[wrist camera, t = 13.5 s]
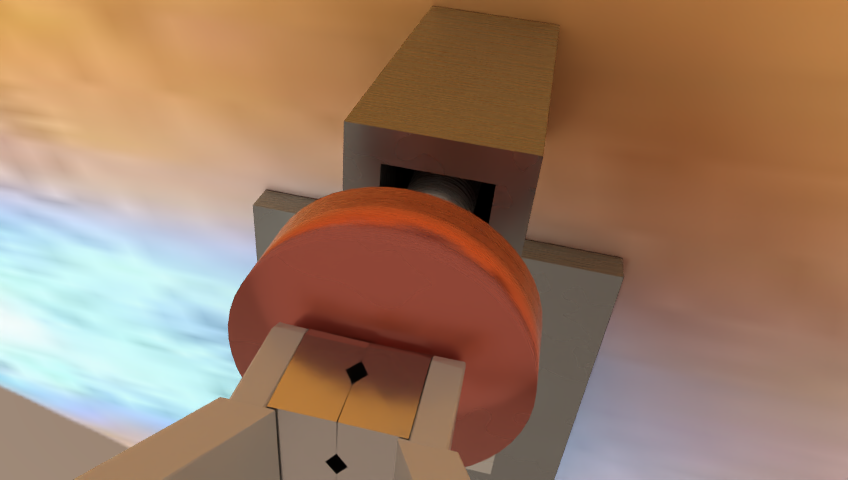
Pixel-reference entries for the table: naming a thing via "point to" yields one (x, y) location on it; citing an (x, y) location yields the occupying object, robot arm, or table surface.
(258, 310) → the plunger
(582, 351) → the press
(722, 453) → the table surface
